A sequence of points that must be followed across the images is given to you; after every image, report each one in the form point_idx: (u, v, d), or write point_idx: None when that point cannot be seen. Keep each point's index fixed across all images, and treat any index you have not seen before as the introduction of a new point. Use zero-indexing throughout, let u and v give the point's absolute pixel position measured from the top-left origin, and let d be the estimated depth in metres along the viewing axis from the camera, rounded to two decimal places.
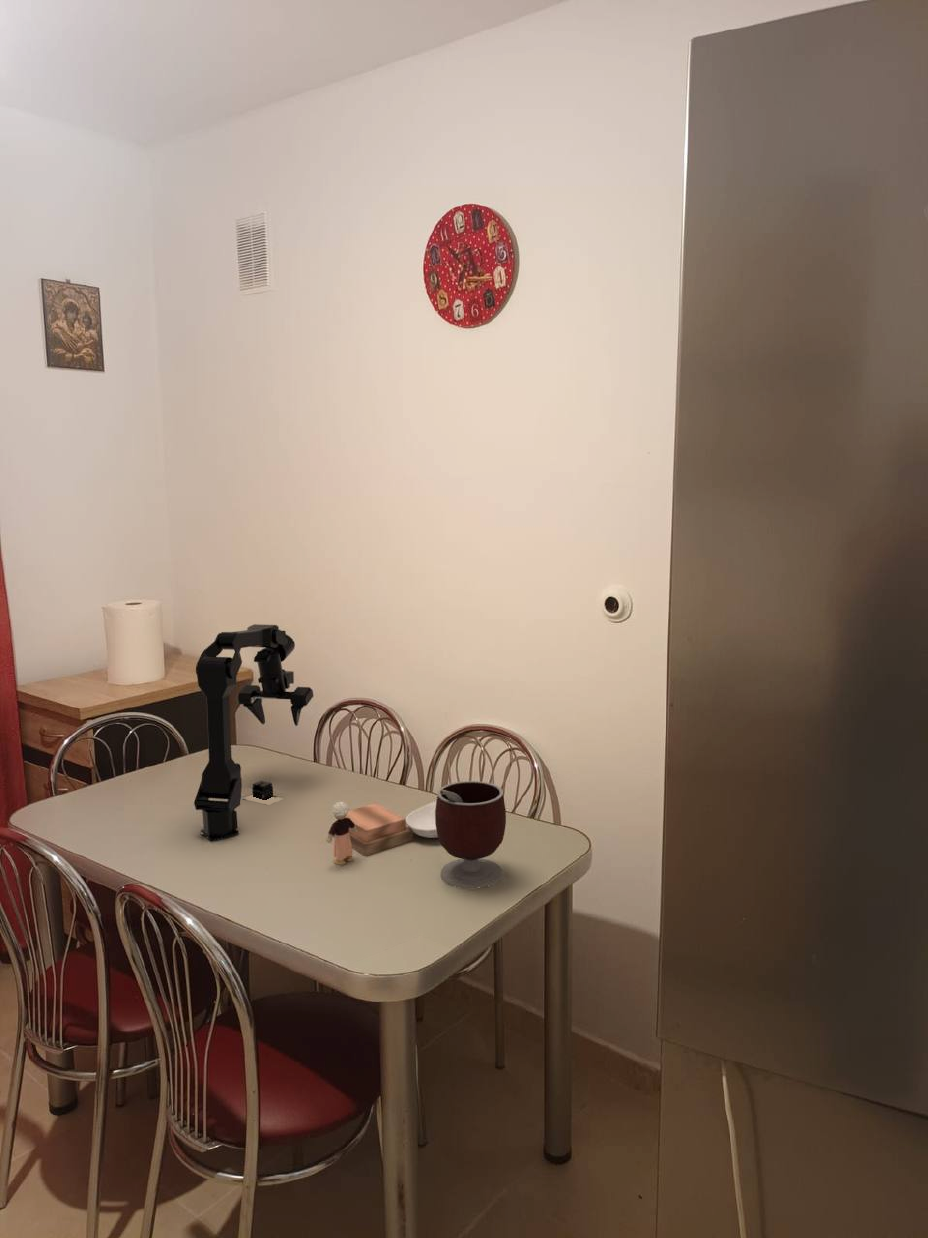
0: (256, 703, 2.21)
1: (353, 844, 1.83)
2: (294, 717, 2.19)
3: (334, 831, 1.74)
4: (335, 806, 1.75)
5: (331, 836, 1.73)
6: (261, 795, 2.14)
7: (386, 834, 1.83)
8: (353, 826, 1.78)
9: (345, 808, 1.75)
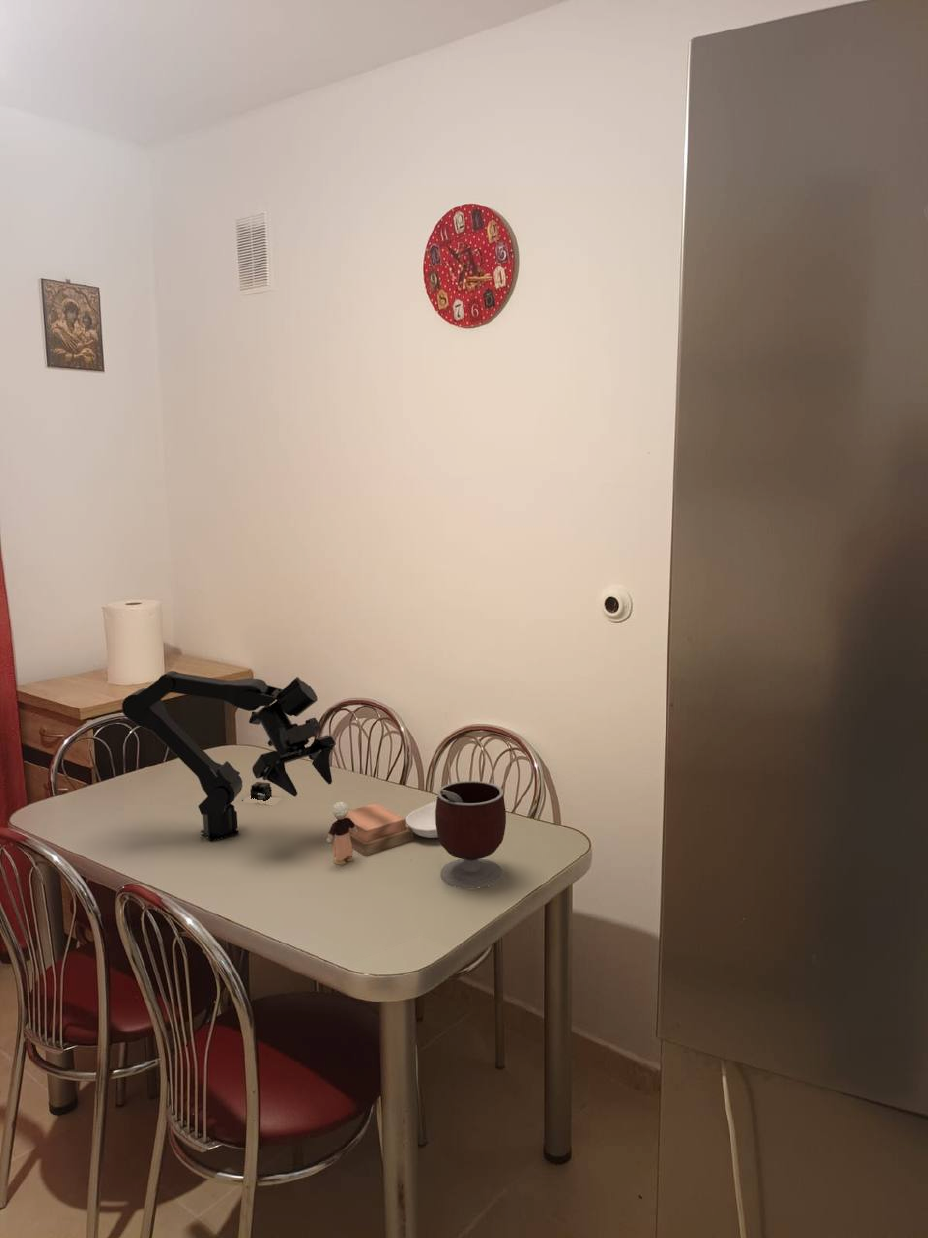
0: (316, 760, 1.87)
1: (353, 844, 1.83)
2: None
3: (334, 831, 1.74)
4: (335, 806, 1.75)
5: (331, 836, 1.73)
6: (259, 796, 2.13)
7: (386, 834, 1.83)
8: (353, 826, 1.78)
9: (345, 808, 1.75)
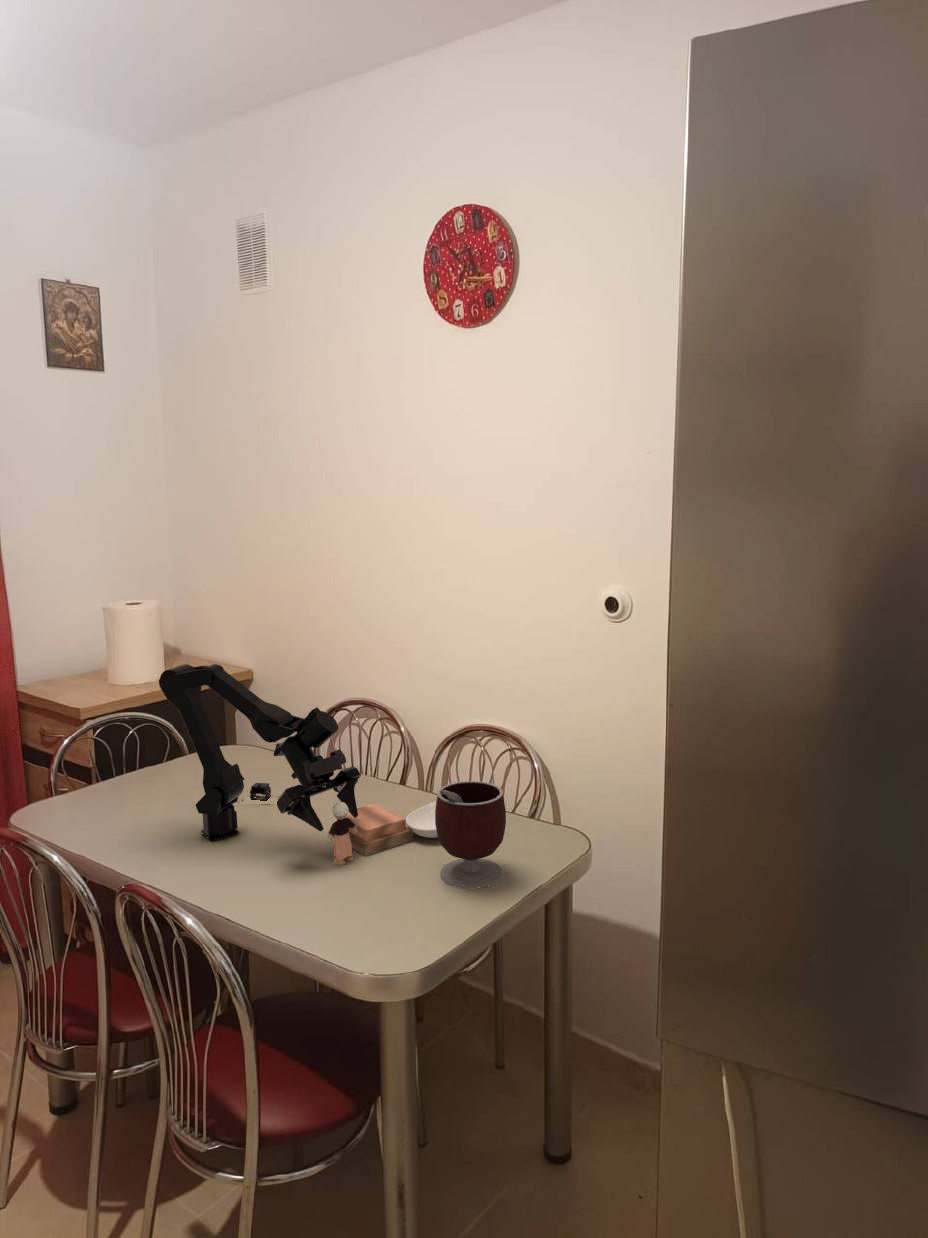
0: (341, 792, 1.83)
1: (353, 844, 1.83)
2: None
3: (334, 831, 1.74)
4: (335, 806, 1.75)
5: (331, 836, 1.73)
6: (258, 797, 2.12)
7: (386, 834, 1.83)
8: (353, 826, 1.78)
9: (345, 808, 1.75)
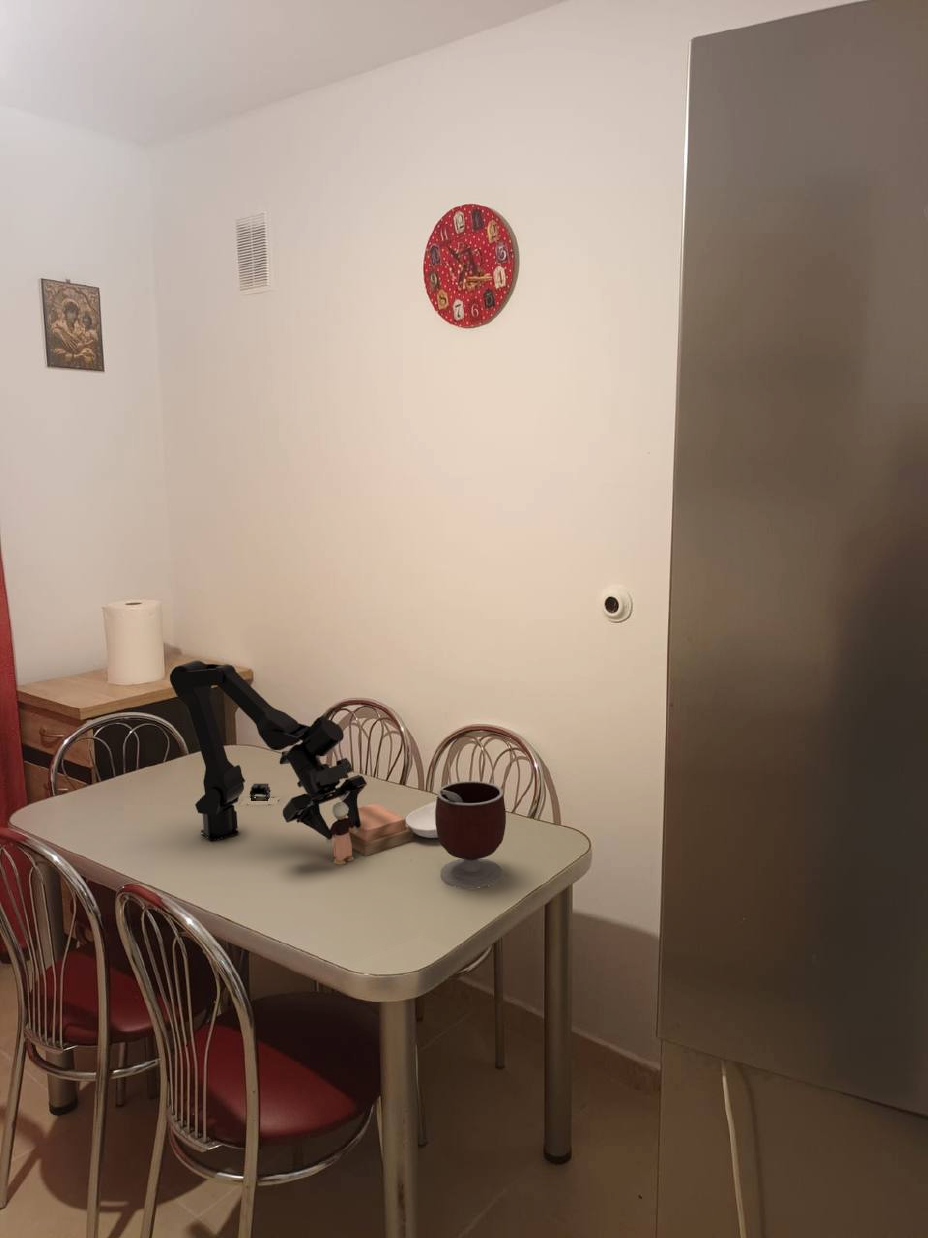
0: (344, 802, 1.81)
1: (353, 844, 1.83)
2: None
3: (334, 831, 1.74)
4: (335, 806, 1.75)
5: None
6: (257, 798, 2.12)
7: (386, 834, 1.83)
8: (353, 826, 1.78)
9: (345, 808, 1.75)
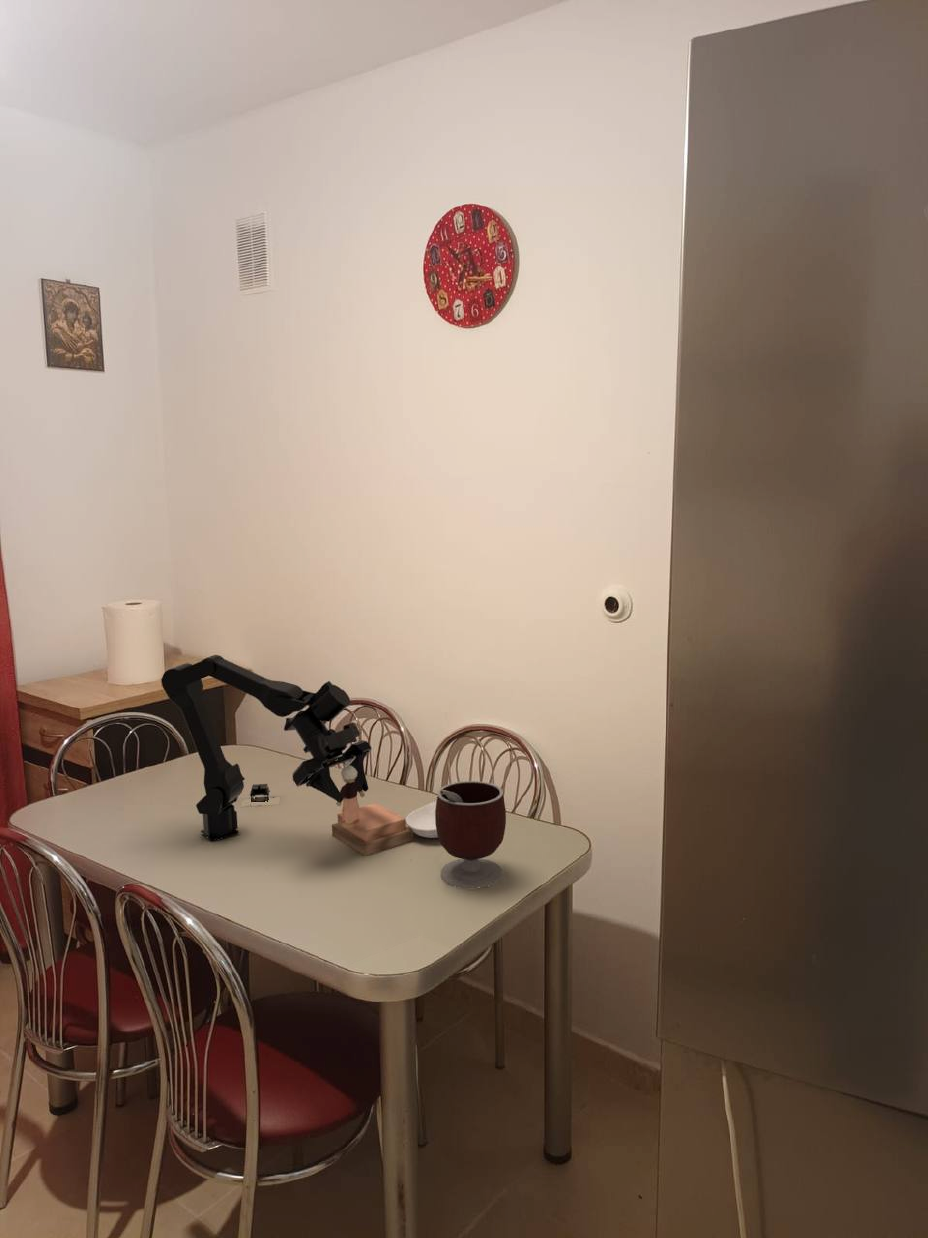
0: None
1: (353, 844, 1.83)
2: None
3: (344, 794, 1.76)
4: (344, 770, 1.77)
5: None
6: (257, 799, 2.11)
7: (386, 834, 1.83)
8: (361, 790, 1.80)
9: (355, 771, 1.77)
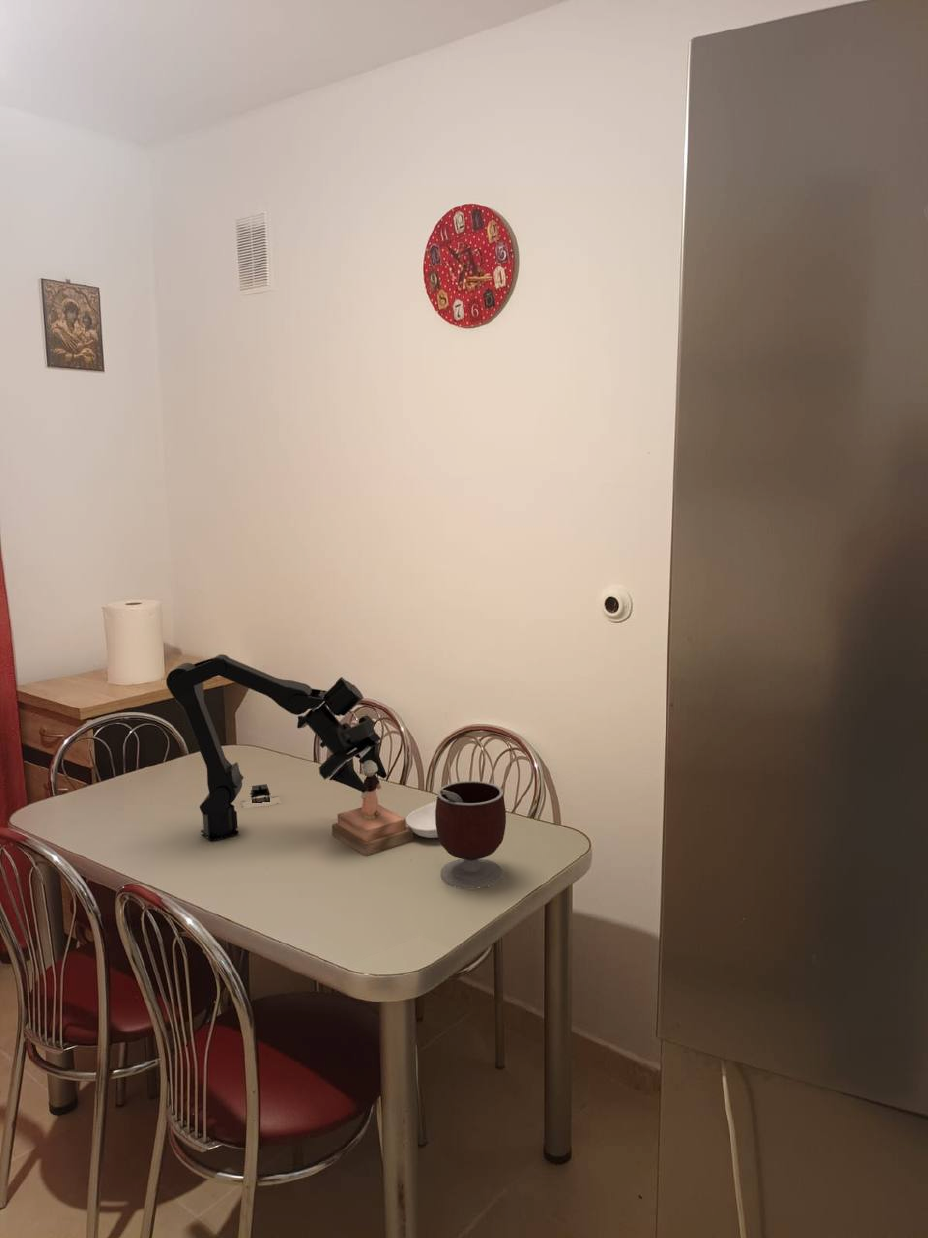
0: (365, 757, 1.92)
1: (353, 844, 1.83)
2: None
3: (367, 787, 1.84)
4: (366, 764, 1.85)
5: (366, 792, 1.84)
6: (257, 800, 2.11)
7: (386, 834, 1.83)
8: (378, 782, 1.89)
9: (375, 765, 1.86)
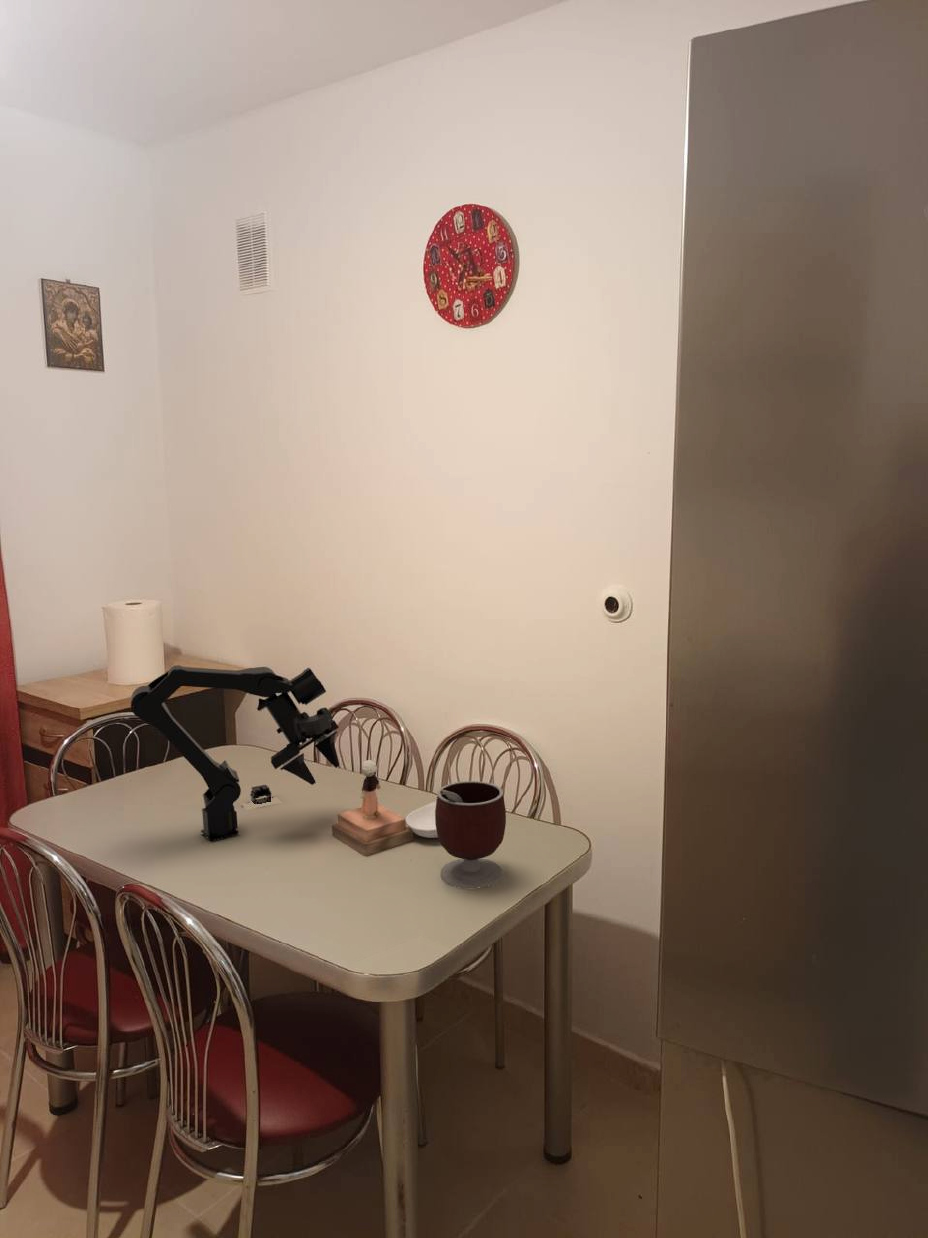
0: (320, 743, 1.97)
1: (353, 844, 1.83)
2: None
3: (367, 787, 1.84)
4: (365, 764, 1.85)
5: (365, 792, 1.84)
6: (257, 801, 2.10)
7: (386, 834, 1.83)
8: (378, 782, 1.89)
9: (375, 765, 1.86)
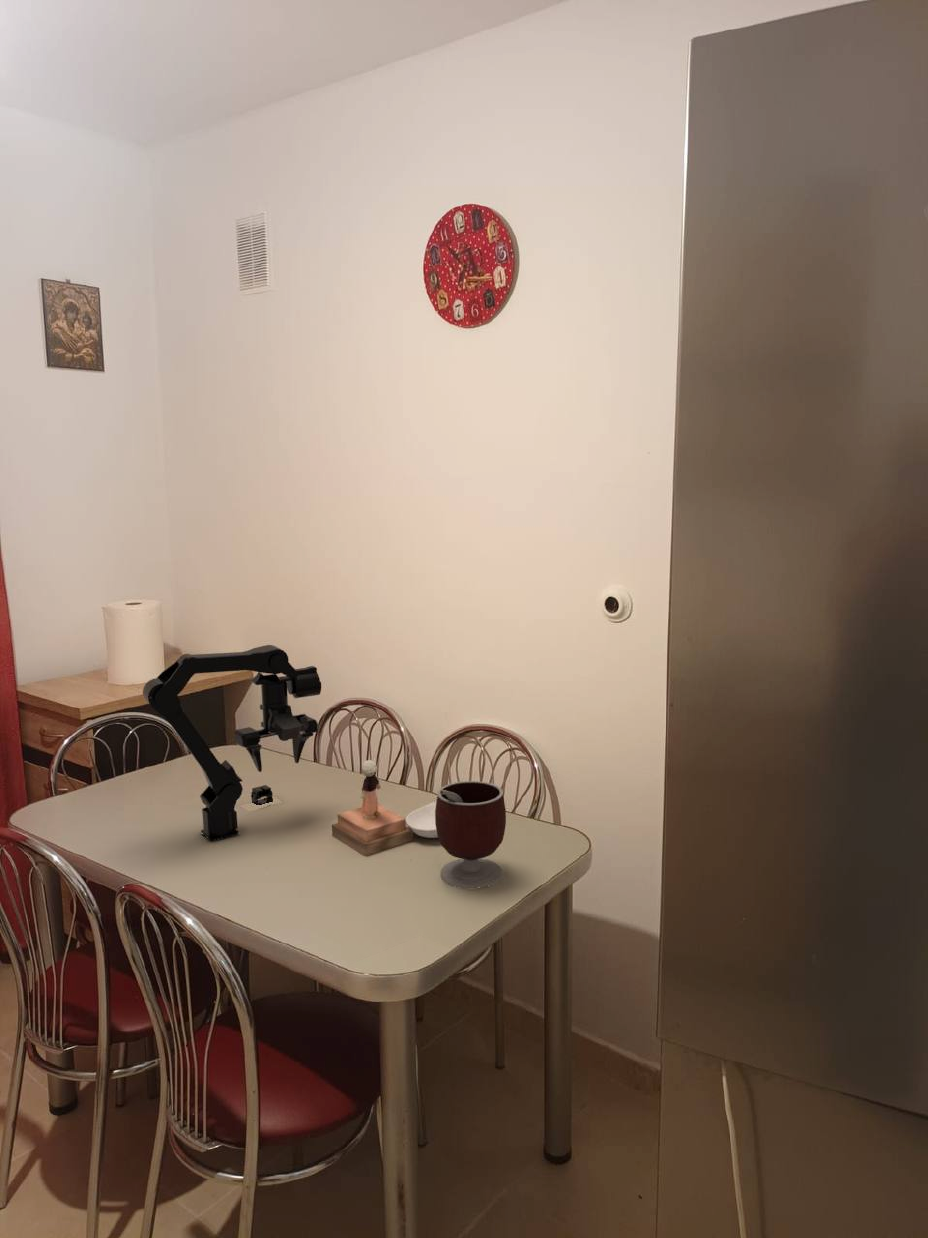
0: None
1: (353, 844, 1.83)
2: None
3: (367, 787, 1.84)
4: (365, 764, 1.85)
5: (365, 792, 1.84)
6: (258, 801, 2.10)
7: (386, 834, 1.83)
8: (378, 782, 1.89)
9: (375, 765, 1.86)
